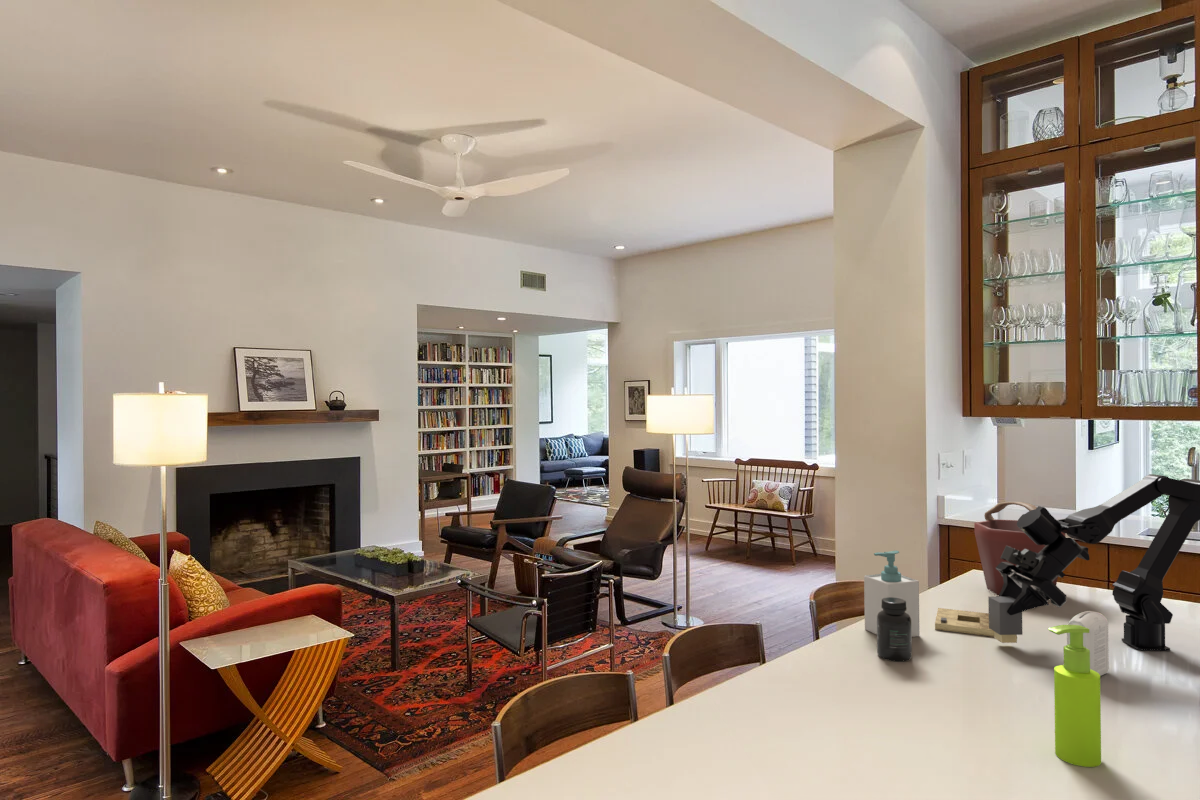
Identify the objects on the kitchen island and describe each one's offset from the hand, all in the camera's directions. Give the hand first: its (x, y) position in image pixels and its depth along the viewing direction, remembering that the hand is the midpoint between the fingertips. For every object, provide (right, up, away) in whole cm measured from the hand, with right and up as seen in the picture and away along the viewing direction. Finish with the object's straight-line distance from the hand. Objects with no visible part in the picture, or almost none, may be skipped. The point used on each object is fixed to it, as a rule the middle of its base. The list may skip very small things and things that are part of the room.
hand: (1002, 610), depth 161 cm
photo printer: (+8, -8, -17) cm, 20 cm away
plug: (+1, -7, 0) cm, 7 cm away
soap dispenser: (-16, -8, -50) cm, 53 cm away
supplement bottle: (-26, -8, -5) cm, 28 cm away
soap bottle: (-20, -8, +10) cm, 24 cm away
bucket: (+30, -8, +44) cm, 54 cm away
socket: (0, -8, +15) cm, 17 cm away
